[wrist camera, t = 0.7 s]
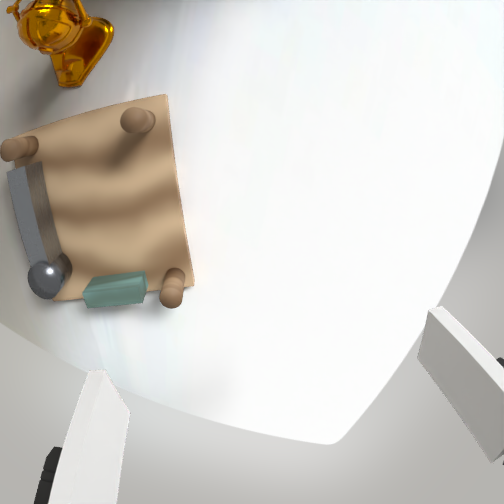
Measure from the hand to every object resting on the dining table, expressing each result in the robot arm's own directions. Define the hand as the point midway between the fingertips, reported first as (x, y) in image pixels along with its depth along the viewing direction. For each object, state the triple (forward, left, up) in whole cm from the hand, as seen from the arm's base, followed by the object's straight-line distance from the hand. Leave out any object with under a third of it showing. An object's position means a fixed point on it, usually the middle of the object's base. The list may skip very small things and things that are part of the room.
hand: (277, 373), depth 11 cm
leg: (-2, -23, -24) cm, 33 cm away
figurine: (-22, -16, -26) cm, 38 cm away
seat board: (-2, -16, -26) cm, 30 cm away
